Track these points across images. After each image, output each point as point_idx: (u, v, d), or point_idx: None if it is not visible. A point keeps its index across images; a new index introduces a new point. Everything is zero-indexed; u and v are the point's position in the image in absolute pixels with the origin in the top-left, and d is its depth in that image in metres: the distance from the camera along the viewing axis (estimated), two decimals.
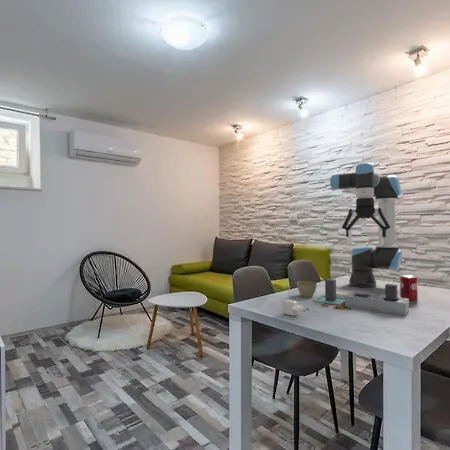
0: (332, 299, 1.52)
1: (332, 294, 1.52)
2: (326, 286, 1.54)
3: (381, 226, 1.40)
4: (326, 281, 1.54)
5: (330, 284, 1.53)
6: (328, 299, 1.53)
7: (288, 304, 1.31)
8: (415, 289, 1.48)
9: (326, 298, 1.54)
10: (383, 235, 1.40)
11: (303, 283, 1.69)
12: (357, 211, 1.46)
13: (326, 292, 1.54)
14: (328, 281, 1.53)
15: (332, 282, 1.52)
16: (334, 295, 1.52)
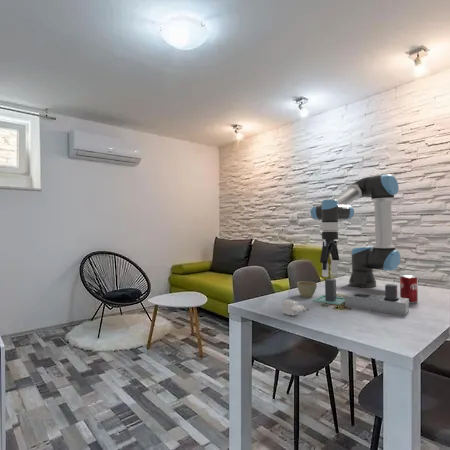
0: (332, 299, 1.52)
1: (332, 294, 1.52)
2: (326, 286, 1.54)
3: None
4: (326, 281, 1.54)
5: (330, 284, 1.53)
6: (328, 299, 1.53)
7: (288, 304, 1.31)
8: (415, 289, 1.48)
9: (326, 298, 1.54)
10: None
11: (303, 283, 1.69)
12: None
13: (326, 292, 1.54)
14: (328, 281, 1.53)
15: (332, 282, 1.52)
16: (334, 295, 1.52)
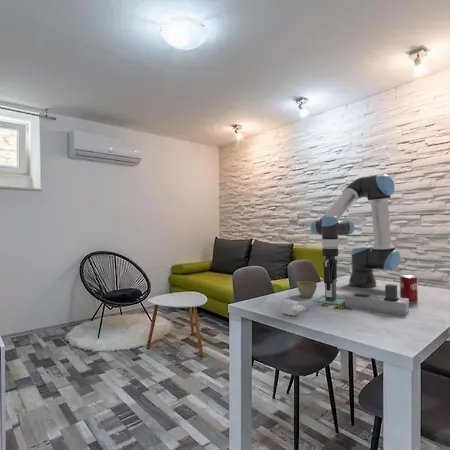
0: (332, 299, 1.52)
1: (332, 294, 1.52)
2: None
3: None
4: None
5: None
6: (328, 299, 1.53)
7: (288, 304, 1.31)
8: (415, 289, 1.48)
9: (326, 298, 1.54)
10: None
11: (303, 283, 1.69)
12: None
13: None
14: None
15: (332, 282, 1.52)
16: (334, 295, 1.52)
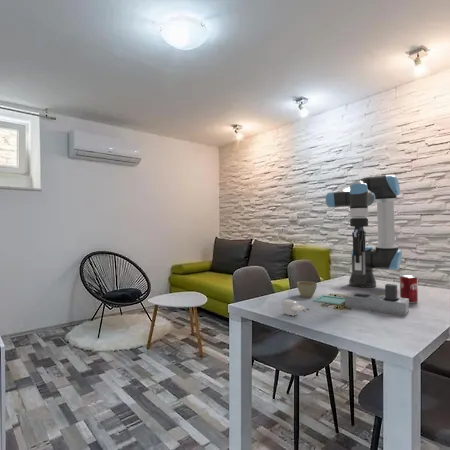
0: (361, 272, 1.41)
1: None
2: None
3: None
4: None
5: None
6: (357, 273, 1.42)
7: (288, 304, 1.31)
8: (415, 289, 1.48)
9: (355, 272, 1.43)
10: None
11: (303, 283, 1.69)
12: None
13: None
14: None
15: (361, 254, 1.41)
16: (363, 268, 1.41)
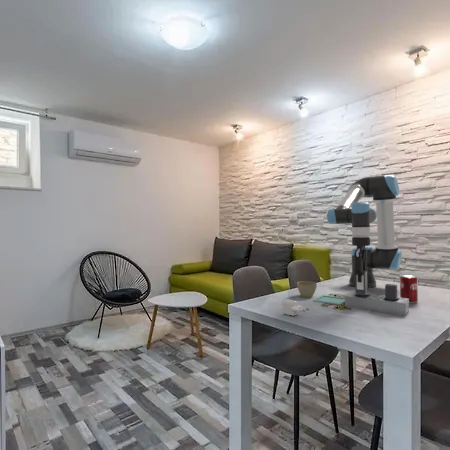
0: (363, 292, 1.41)
1: None
2: None
3: None
4: None
5: None
6: (359, 292, 1.42)
7: (288, 304, 1.31)
8: (415, 289, 1.48)
9: (357, 291, 1.43)
10: None
11: (303, 283, 1.69)
12: None
13: None
14: None
15: (363, 273, 1.41)
16: (365, 288, 1.41)
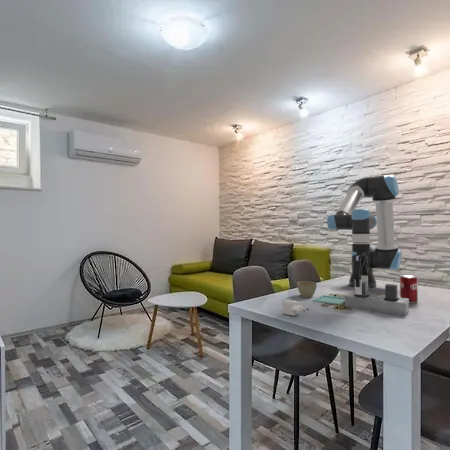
0: None
1: None
2: None
3: None
4: None
5: None
6: None
7: (288, 304, 1.31)
8: (415, 289, 1.48)
9: None
10: None
11: (303, 283, 1.69)
12: None
13: None
14: None
15: (364, 285, 1.41)
16: None
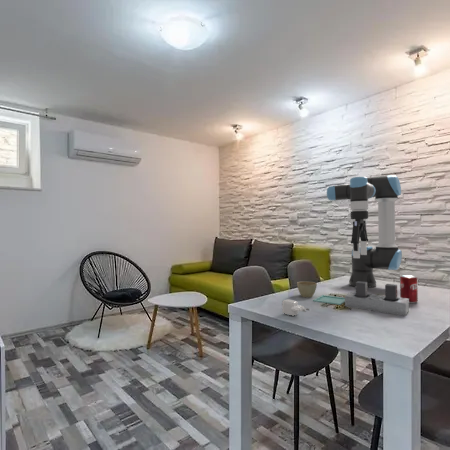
0: None
1: None
2: (357, 289, 1.43)
3: None
4: (357, 284, 1.43)
5: (361, 287, 1.41)
6: None
7: (288, 304, 1.31)
8: (415, 289, 1.48)
9: None
10: None
11: (303, 283, 1.69)
12: None
13: None
14: (359, 284, 1.42)
15: (364, 285, 1.41)
16: None
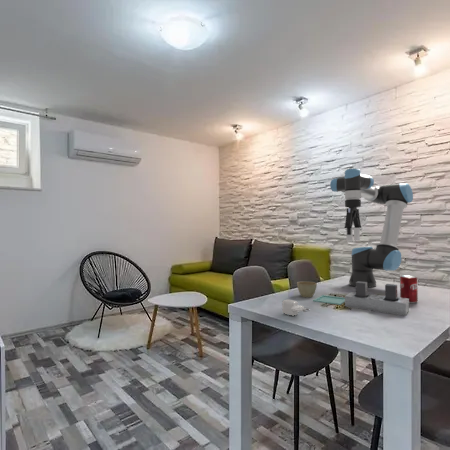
0: None
1: None
2: (357, 289, 1.43)
3: None
4: (357, 284, 1.43)
5: (361, 287, 1.41)
6: None
7: (288, 304, 1.31)
8: (415, 289, 1.48)
9: None
10: None
11: (303, 283, 1.69)
12: None
13: None
14: (359, 284, 1.42)
15: (364, 285, 1.41)
16: None
